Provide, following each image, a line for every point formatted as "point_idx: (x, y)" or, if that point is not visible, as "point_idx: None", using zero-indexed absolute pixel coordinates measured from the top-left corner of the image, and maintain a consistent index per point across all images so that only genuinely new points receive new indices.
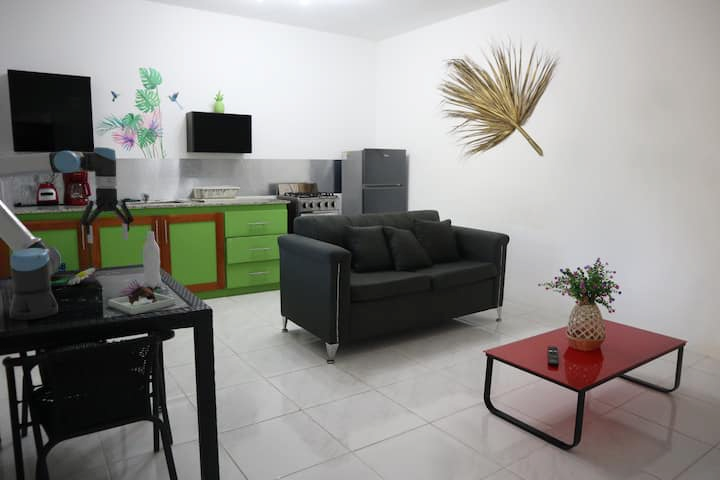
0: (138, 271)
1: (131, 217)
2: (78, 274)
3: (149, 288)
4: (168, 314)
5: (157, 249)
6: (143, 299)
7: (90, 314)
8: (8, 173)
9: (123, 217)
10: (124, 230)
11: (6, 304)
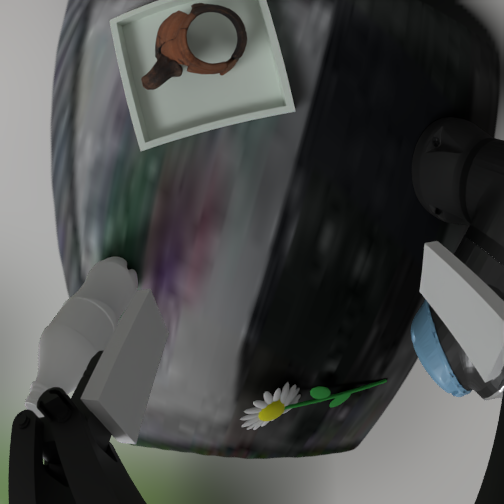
0: None
1: (18, 450)
2: (280, 411)
3: (156, 63)
4: None
5: (43, 332)
6: (177, 113)
7: (357, 60)
8: None
9: (90, 480)
10: (132, 361)
11: None
